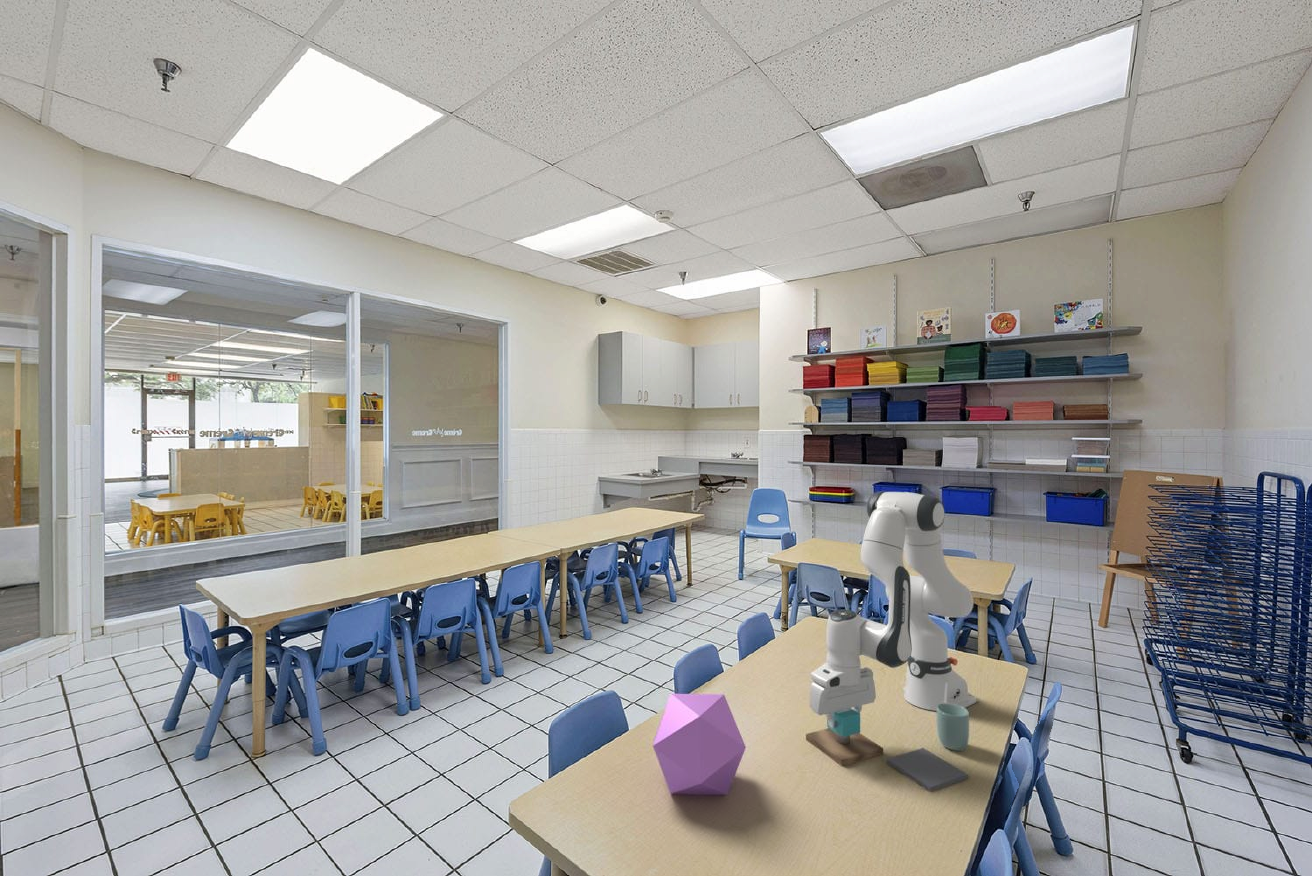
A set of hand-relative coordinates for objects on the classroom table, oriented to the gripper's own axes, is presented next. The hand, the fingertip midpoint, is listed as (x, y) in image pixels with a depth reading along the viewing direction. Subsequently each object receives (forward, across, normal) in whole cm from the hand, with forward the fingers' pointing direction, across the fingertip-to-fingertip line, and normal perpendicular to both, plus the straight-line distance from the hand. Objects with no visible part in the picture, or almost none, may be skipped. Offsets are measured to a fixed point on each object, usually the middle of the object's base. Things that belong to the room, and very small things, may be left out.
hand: (843, 723), depth 150 cm
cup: (+6, -27, +12) cm, 30 cm away
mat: (+6, -11, +17) cm, 21 cm away
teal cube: (+2, 0, 0) cm, 2 cm away
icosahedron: (+6, +44, -1) cm, 44 cm away
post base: (+6, 0, 0) cm, 6 cm away
